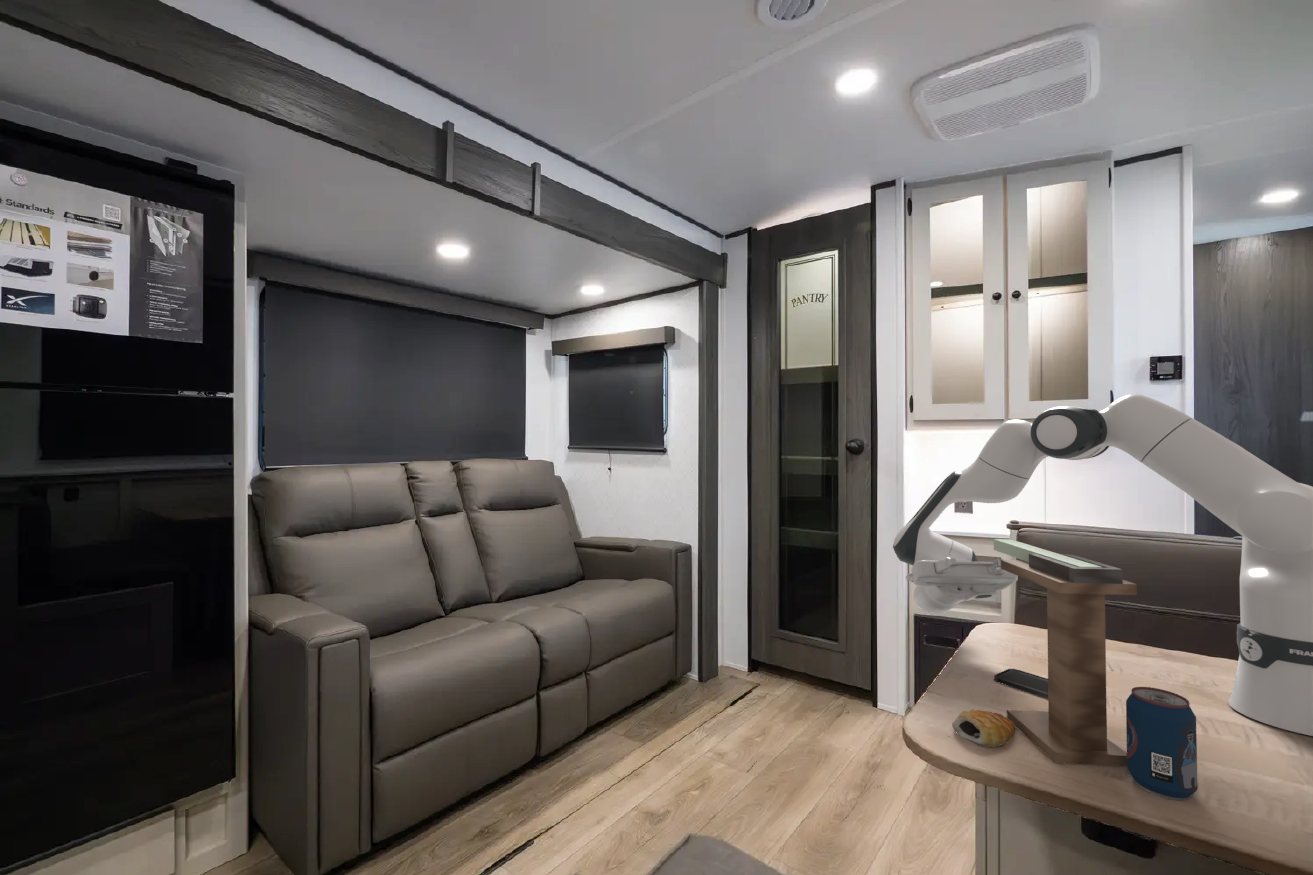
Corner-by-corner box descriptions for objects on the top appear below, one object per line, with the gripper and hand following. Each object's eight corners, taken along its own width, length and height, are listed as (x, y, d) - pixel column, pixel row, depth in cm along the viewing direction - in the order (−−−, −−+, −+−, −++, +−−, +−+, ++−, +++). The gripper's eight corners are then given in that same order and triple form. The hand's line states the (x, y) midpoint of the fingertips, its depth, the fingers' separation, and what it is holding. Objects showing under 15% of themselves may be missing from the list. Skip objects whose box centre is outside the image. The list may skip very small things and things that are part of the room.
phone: (1011, 667, 112) (1101, 695, 100) (1011, 673, 112) (1102, 701, 100) (991, 676, 108) (1083, 706, 95) (991, 682, 108) (1083, 713, 95)
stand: (1065, 717, 93) (1063, 548, 94) (1139, 772, 77) (1136, 569, 78) (1002, 714, 94) (1000, 547, 94) (1062, 769, 78) (1060, 568, 78)
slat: (1010, 550, 103) (1010, 539, 103) (1102, 581, 79) (1102, 567, 79) (993, 549, 103) (993, 539, 103) (1080, 580, 80) (1079, 566, 80)
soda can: (1127, 765, 79) (1126, 680, 79) (1195, 785, 74) (1194, 694, 75) (1126, 788, 74) (1125, 696, 74) (1199, 810, 69) (1197, 713, 69)
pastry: (987, 720, 92) (987, 697, 93) (1029, 740, 86) (1029, 715, 86) (948, 732, 89) (948, 708, 89) (989, 753, 82) (989, 728, 82)
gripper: (901, 566, 128) (920, 545, 116) (995, 568, 126) (1024, 547, 114) (905, 594, 124) (926, 575, 112) (1002, 597, 122) (1034, 578, 111)
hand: (976, 561), depth 113 cm, fingers open, 8 cm apart
